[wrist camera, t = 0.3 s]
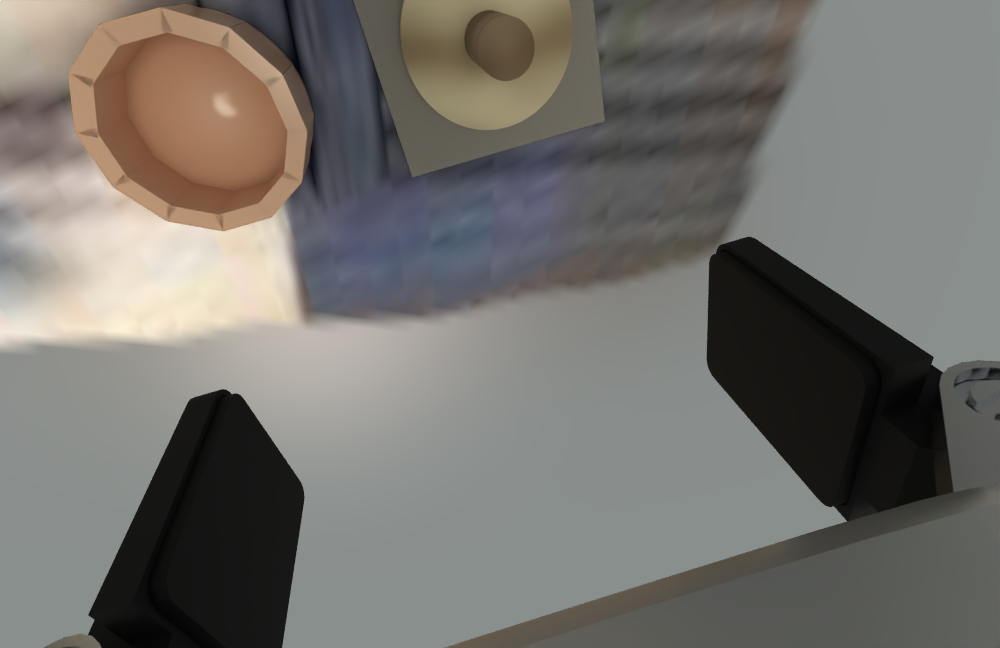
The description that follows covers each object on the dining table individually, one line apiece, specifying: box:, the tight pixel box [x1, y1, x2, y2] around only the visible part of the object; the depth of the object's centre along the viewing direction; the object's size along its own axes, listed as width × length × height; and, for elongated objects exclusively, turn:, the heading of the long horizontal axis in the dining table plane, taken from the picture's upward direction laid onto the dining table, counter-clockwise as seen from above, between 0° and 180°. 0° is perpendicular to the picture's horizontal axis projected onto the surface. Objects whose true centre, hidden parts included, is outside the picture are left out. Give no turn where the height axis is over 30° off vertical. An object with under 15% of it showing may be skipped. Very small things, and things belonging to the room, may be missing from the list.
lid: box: [400, 0, 573, 130], centre depth 29 cm, size 10×10×6 cm
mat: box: [353, 0, 605, 177], centre depth 32 cm, size 14×14×1 cm
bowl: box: [68, 3, 314, 231], centre depth 29 cm, size 11×11×5 cm
